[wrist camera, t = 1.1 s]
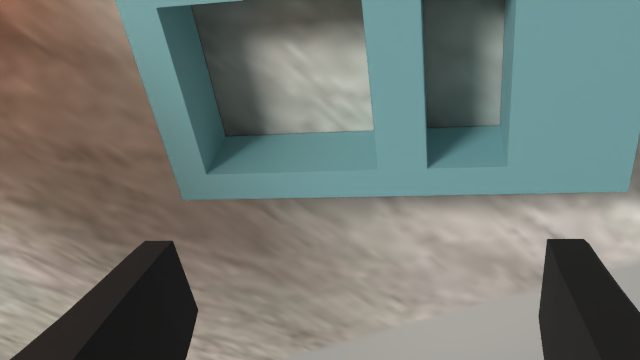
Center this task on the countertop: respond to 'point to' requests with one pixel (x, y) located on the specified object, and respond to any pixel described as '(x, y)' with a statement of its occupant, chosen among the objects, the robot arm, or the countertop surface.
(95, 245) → the countertop surface
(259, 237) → the countertop surface
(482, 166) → the holder
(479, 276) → the countertop surface
